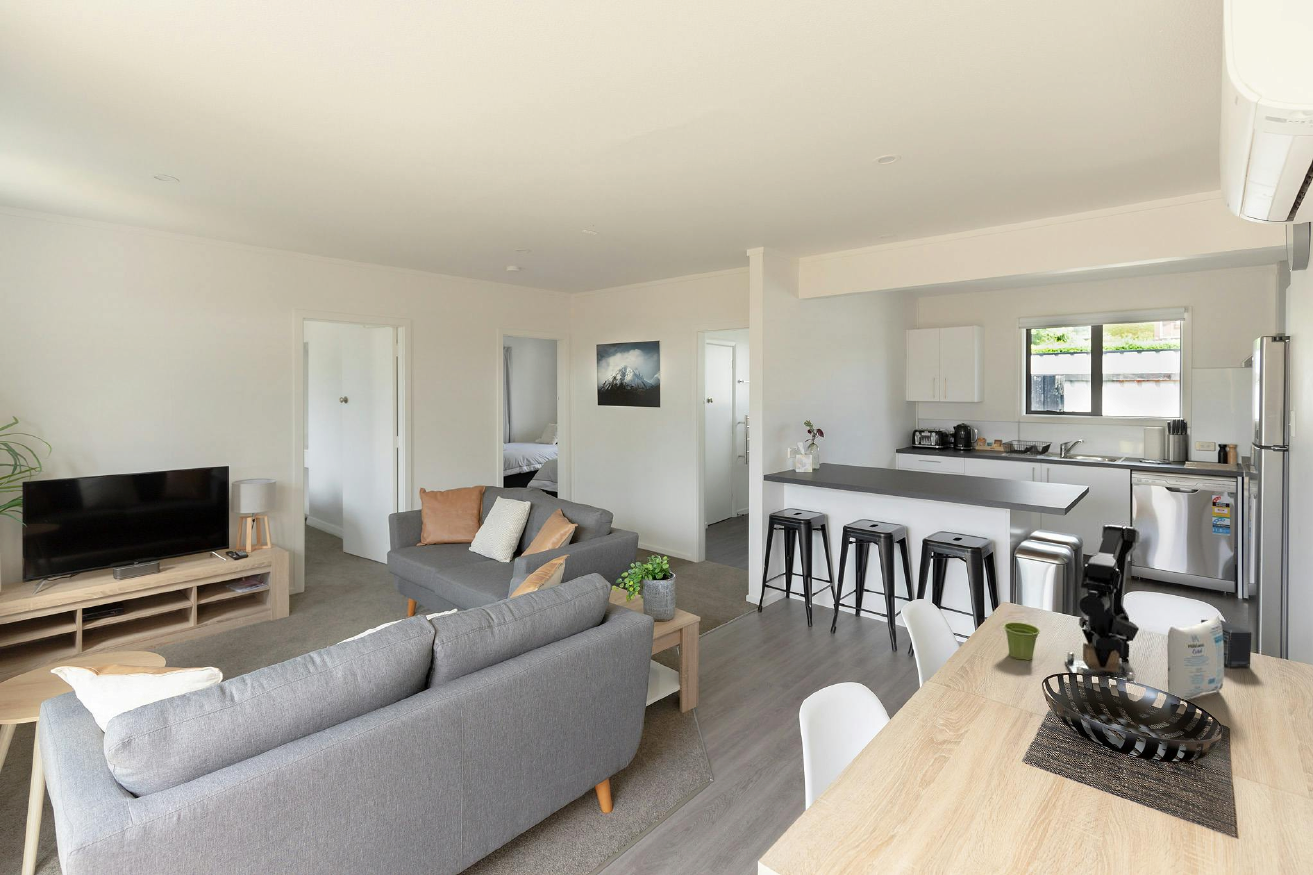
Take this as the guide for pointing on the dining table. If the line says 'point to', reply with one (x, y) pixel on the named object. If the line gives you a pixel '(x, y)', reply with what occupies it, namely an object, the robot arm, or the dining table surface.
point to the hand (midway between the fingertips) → (1099, 662)
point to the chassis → (1081, 668)
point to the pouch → (1195, 659)
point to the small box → (1236, 645)
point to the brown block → (1092, 660)
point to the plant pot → (1021, 639)
